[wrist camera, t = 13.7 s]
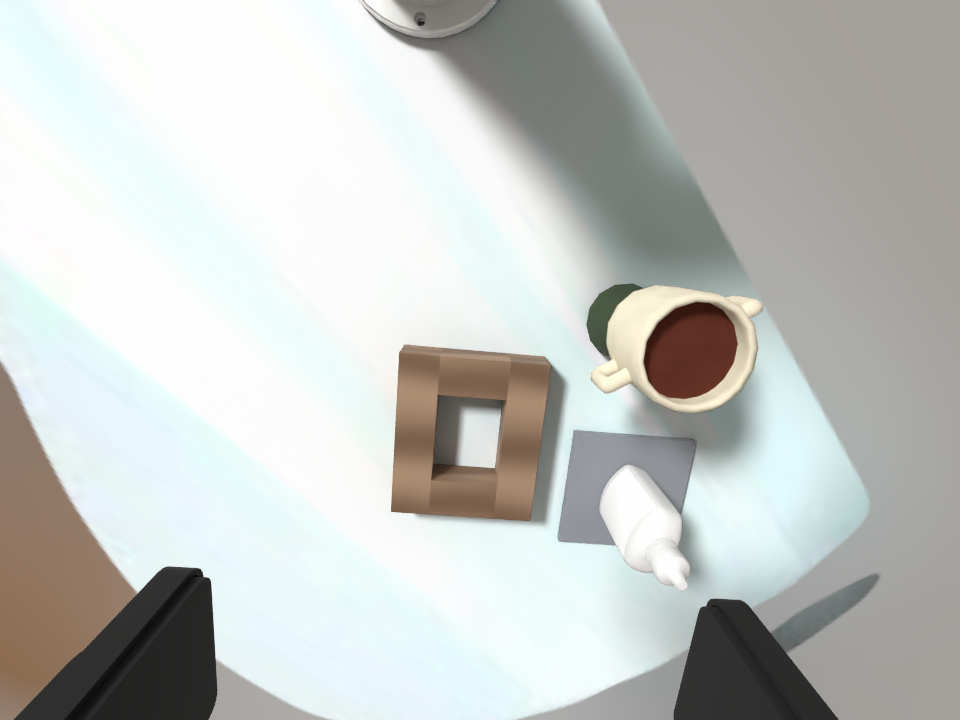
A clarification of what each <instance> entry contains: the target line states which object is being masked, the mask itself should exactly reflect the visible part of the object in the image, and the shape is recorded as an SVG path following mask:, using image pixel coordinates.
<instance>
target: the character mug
mask: <svg viewBox="0 0 960 720" xmlns="http://www.w3.org/2000/svg"><path fill="white" fill-rule="evenodd" d="M762 308H763V304H761V303H760V302H759V301H758V300H756V299H754V298H748V297H742V296H729V297H726V298H725V297H723V296H721V295H718V294H715V293H709V292H704V291H698V290H692V289H687V288H681V287H674V286H660V285H654V286H651V287H647V288H642V287H639V286H637V285H634V284H623V285H614V286H613V287H611V288H609V289H607V290H605V291H604V292H602V293H600V294H599V296H598V297H597V298H596V300H595V301H594V303H593V304H592V306H591V307H590V309H589V315H588V320H587V329H588V333H589V337H590V341H591V342H592V343H593V344H594V346H595V347H596V348H597V349H598V350H599V351H600V352H601V353H603V354H605V355H607V356H610V359H611V360H610V361H608V362H606V363H604V364H603V365H601V366H599V367H597V368H596V369H595V370H593V371H592V372H591V381H592V382H593V383H594V384H595V385H596V386H597V387H598V388H599V389H600V390H601V391H603V392H604V393H611V392H613V391H616V390H618V389H620V388H622V387H623V386H625V385H627V384H629V383H631V384H632V385H633V386H634V387H636V388H637V389H638V390H639V391H641V392H642V393H643V394H645V395H646V396H647V397H648V398H650V399H651V400H653V401H655V402H657V403H659V404H661V405H663V406H665V407H667V408H669V409H671V410H673V411H675V412H685V413H694V414H696V413H701V412H706V411H711V410H714V409H716V408H719V407H721V406H723V405H724V404H726V403H727V402H729V401H730V400H731V399H732V398H733V397H735V396H736V395H737V394H738V393H739V392H740V391H741V390H742V389H743V387H744V385H745V384H746V382H747V380H748V379H749V377H750V375H751V374H752V372H753V370H754V365H755V361H756V356H757V351H758V343H757V336H756V330H755V325H754V323H753V322H752V320H751V319H750V318H752V317H754V316H756V315H757V314H759V313H760V312H761V311H762Z"/></svg>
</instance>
